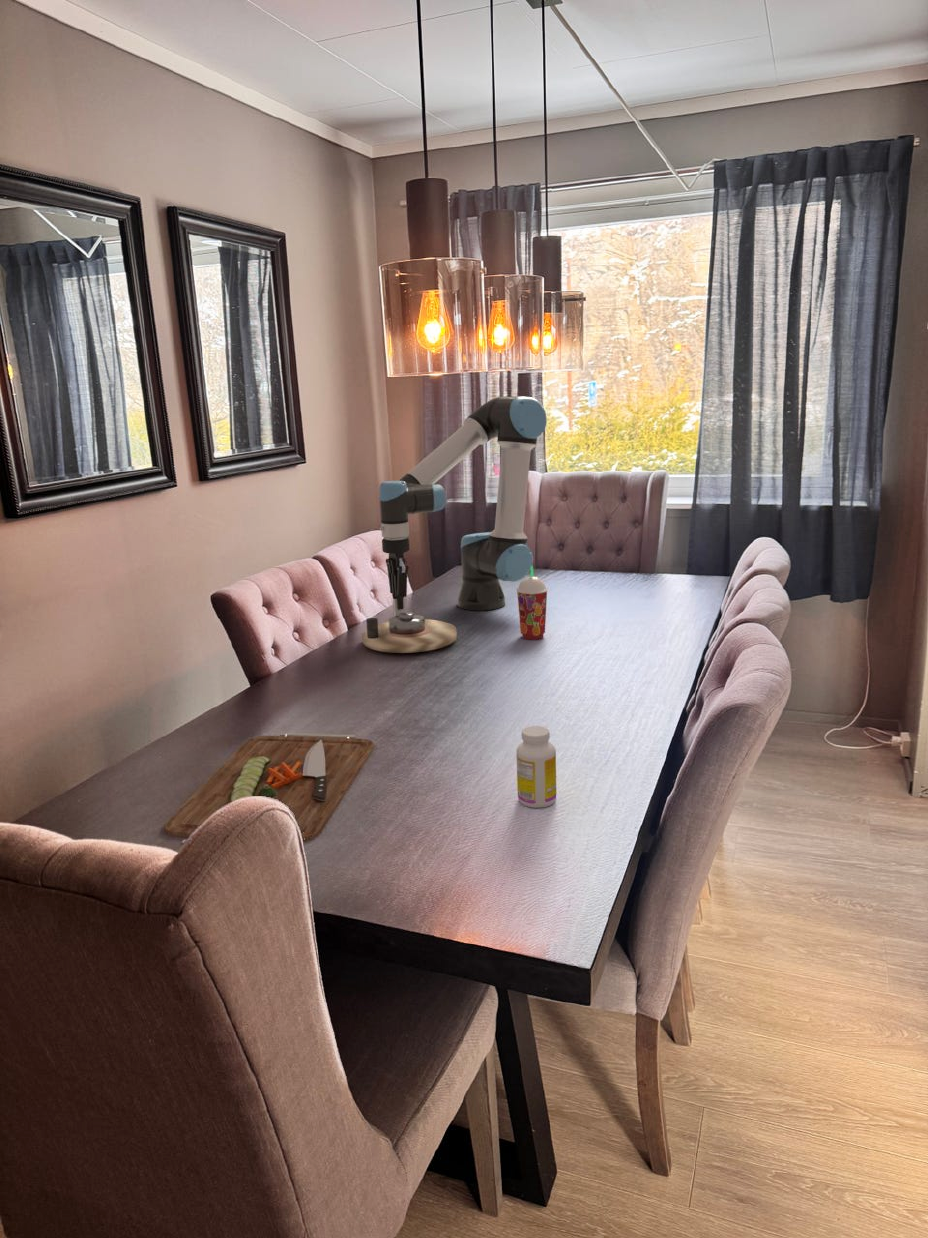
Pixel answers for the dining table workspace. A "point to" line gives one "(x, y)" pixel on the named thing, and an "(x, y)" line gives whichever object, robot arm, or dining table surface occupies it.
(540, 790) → the supplement bottle
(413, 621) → the cover
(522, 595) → the smoothie
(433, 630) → the turntable
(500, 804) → the dining table surface
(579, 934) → the dining table surface
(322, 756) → the chopping board
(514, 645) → the dining table surface
